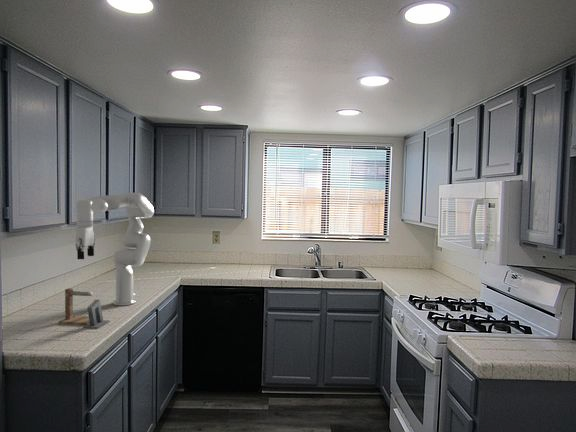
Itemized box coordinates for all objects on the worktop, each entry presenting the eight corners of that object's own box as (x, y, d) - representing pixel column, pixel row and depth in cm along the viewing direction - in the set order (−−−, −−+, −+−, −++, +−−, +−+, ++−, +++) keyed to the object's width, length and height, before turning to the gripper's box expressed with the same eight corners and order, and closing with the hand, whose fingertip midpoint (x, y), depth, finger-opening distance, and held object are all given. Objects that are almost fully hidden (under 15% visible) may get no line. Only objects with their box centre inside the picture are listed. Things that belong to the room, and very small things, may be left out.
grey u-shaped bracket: (98, 319, 208) (95, 299, 205) (103, 319, 208) (99, 299, 205) (90, 328, 201) (87, 307, 198) (95, 328, 201) (91, 307, 197)
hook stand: (58, 323, 204) (58, 291, 203) (71, 318, 214) (71, 286, 213) (86, 325, 203) (86, 292, 202) (97, 319, 213) (97, 287, 212)
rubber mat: (95, 320, 210) (95, 319, 210) (109, 321, 209) (109, 320, 209) (82, 327, 199) (82, 326, 199) (97, 328, 198) (97, 327, 198)
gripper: (86, 222, 223) (87, 254, 224) (68, 225, 205) (69, 260, 207) (100, 222, 222) (101, 254, 224) (83, 225, 205) (84, 260, 206)
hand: (85, 257), depth 215 cm, fingers open, 9 cm apart
